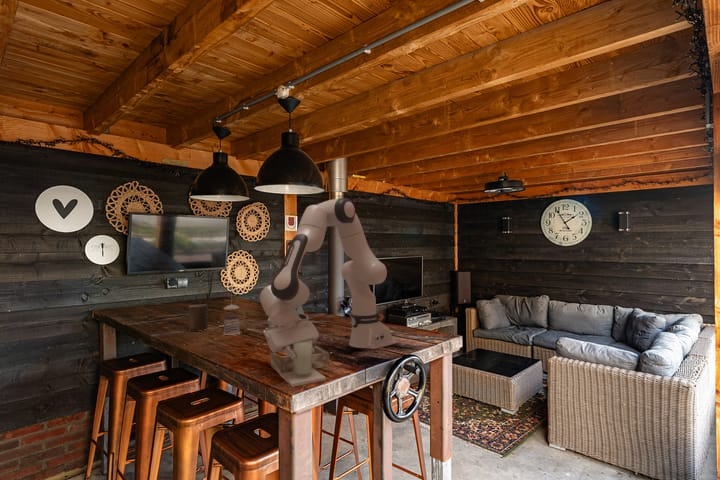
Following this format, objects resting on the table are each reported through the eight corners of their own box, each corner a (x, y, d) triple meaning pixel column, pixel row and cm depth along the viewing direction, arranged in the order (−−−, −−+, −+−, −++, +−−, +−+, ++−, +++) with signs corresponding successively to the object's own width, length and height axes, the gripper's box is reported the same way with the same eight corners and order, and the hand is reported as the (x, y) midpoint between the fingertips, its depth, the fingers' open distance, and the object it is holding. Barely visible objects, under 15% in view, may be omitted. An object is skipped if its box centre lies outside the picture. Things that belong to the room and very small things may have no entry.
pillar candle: (206, 331, 211) (205, 303, 211) (186, 332, 208) (186, 304, 209) (208, 327, 220) (208, 301, 220) (190, 328, 218) (190, 302, 218)
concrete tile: (312, 370, 143) (312, 367, 143) (325, 380, 132) (325, 377, 132) (280, 376, 137) (280, 373, 137) (292, 386, 126) (292, 383, 127)
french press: (222, 332, 208) (222, 285, 208) (245, 330, 211) (244, 285, 211) (221, 336, 198) (220, 287, 198) (244, 334, 201) (244, 286, 202)
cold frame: (316, 358, 158) (316, 346, 158) (329, 366, 148) (329, 353, 148) (270, 366, 148) (270, 353, 148) (280, 375, 138) (280, 361, 138)
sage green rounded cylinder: (307, 367, 139) (307, 339, 139) (314, 372, 134) (314, 343, 134) (290, 370, 136) (290, 342, 136) (297, 375, 130) (296, 346, 130)
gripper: (265, 323, 132) (283, 357, 125) (310, 314, 147) (328, 344, 141) (258, 334, 135) (275, 368, 128) (303, 324, 150) (320, 354, 143)
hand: (303, 355), depth 134 cm, fingers closed on sage green rounded cylinder, 6 cm apart
